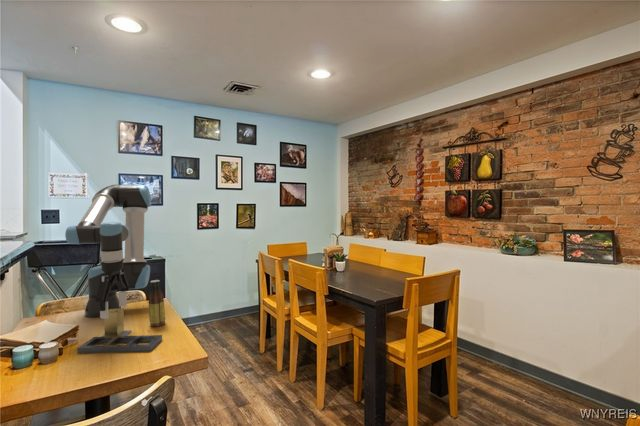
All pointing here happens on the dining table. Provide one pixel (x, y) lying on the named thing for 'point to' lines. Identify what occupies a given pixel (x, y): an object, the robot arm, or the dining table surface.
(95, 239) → the robot arm
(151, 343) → the grey slotted tray
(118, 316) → the tan block
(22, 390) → the dining table surface
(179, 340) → the dining table surface
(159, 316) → the sauce bottle
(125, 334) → the tile
